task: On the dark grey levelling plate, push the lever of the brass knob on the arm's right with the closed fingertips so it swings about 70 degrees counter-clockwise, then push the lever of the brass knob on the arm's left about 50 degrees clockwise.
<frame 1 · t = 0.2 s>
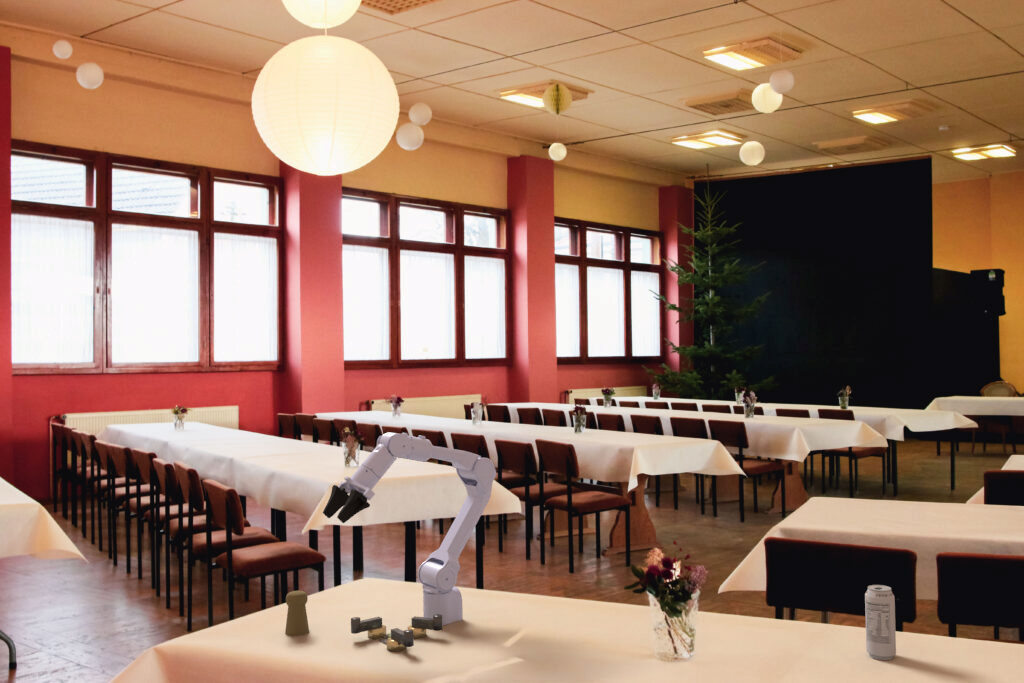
hand: (332, 517, 210), 30 cm above the table, tool tilted 45°, fingers open, 7 cm apart
knob B: (401, 639, 204), point 4 cm above the table, hinge at 0.0°
knob A: (368, 626, 214), point 4 cm above the table, hinge at 0.0°
cork: (297, 637, 220), on the table
energy drink can: (881, 657, 198), on the table
levelling plate: (394, 644, 212), on the table
knob C: (425, 625, 214), point 4 cm above the table, hinge at 0.0°
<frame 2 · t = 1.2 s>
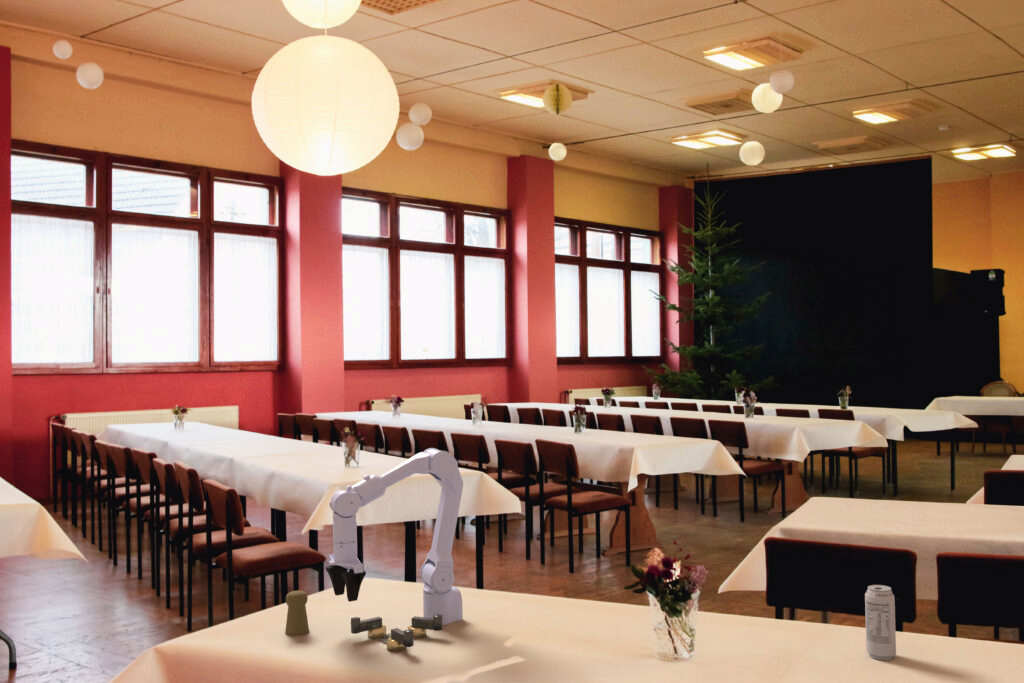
hand: (346, 597, 217), 10 cm above the table, tool pointing down, fingers open, 6 cm apart
nothing on the table moved.
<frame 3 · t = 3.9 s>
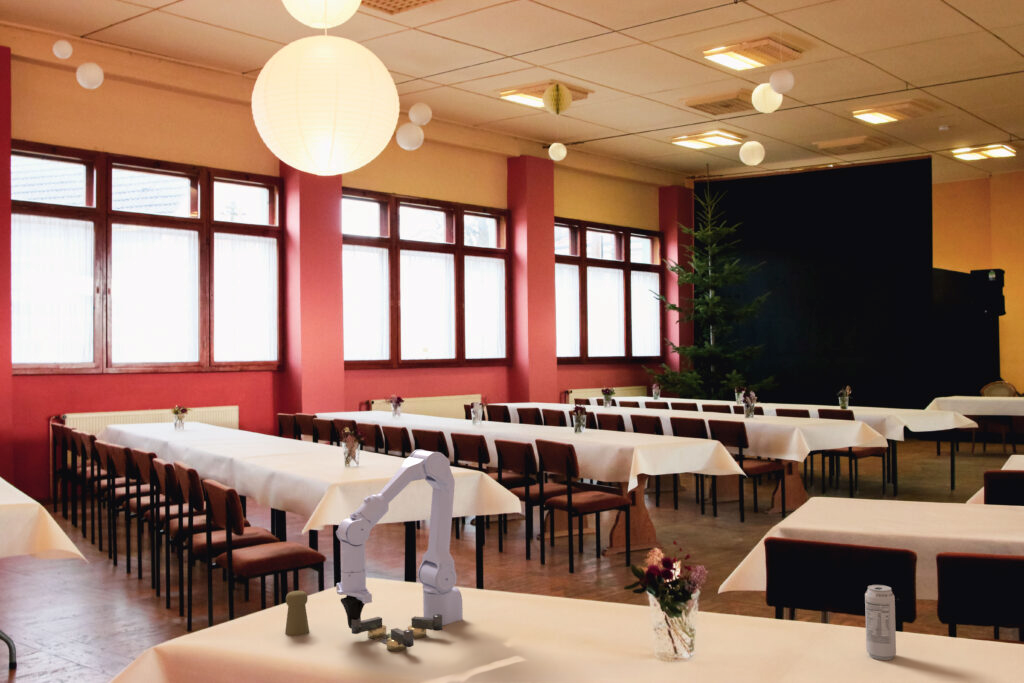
hand: (354, 627, 214), 4 cm above the table, tool pointing down, fingers closed, pressing on knob A
knob A: (368, 626, 214), point 4 cm above the table, hinge at 2.8°, touching gripper
everything else where it was.
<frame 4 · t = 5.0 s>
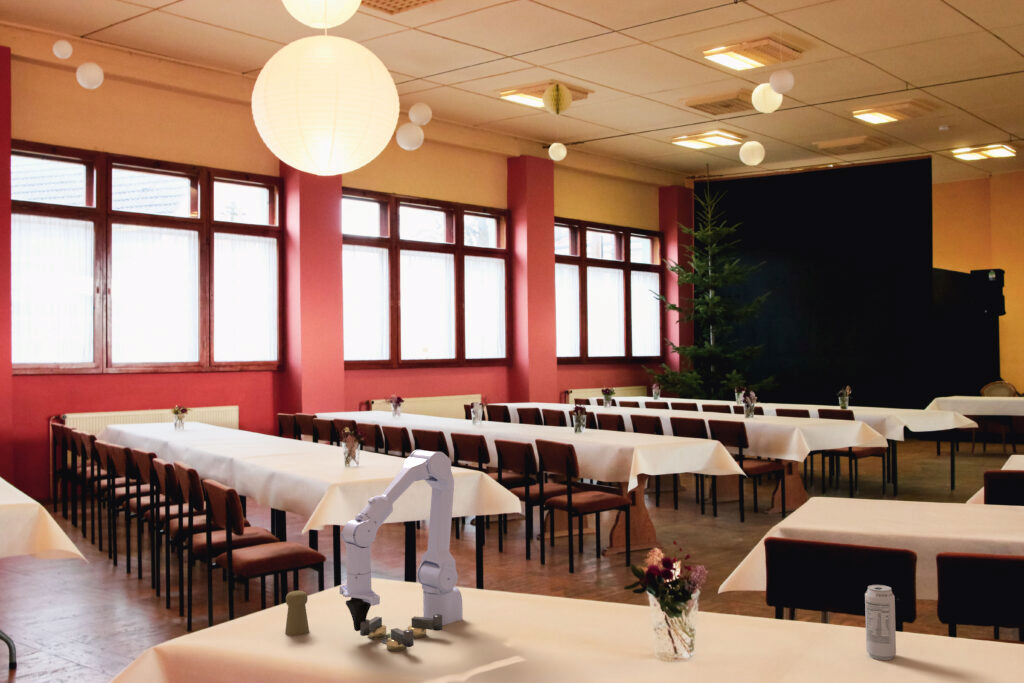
hand: (359, 630, 212), 4 cm above the table, tool pointing down, fingers closed, pressing on knob A
knob A: (372, 627, 214), point 4 cm above the table, hinge at 32.1°, touching gripper
everything else where it was.
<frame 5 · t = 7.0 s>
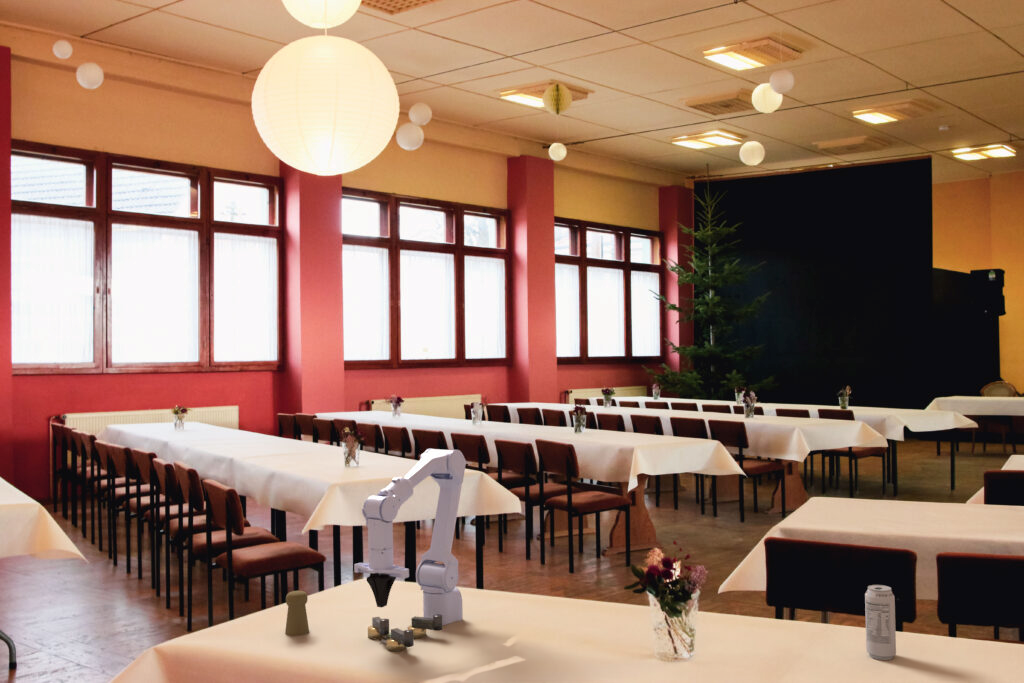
hand: (381, 606, 210), 10 cm above the table, tool pointing down, fingers closed
knob A: (379, 627, 214), point 4 cm above the table, hinge at 79.8°
everything else where it was.
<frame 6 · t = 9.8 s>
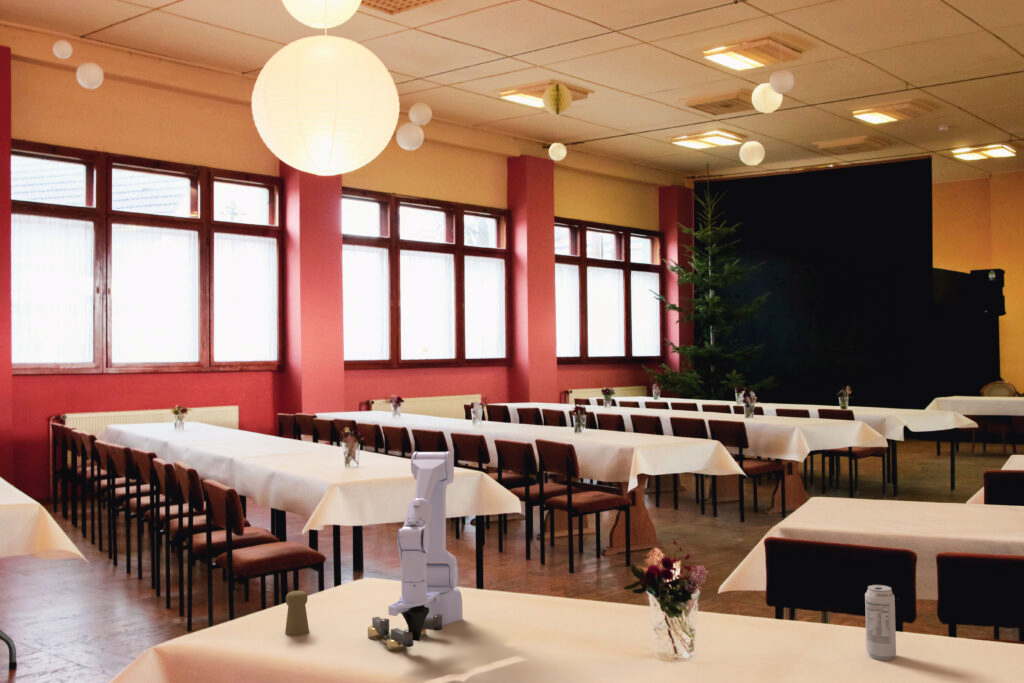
hand: (415, 640, 203), 4 cm above the table, tool pointing down, fingers closed, pressing on knob B
knob B: (401, 639, 204), point 4 cm above the table, hinge at -0.5°, touching gripper
everything else where it was.
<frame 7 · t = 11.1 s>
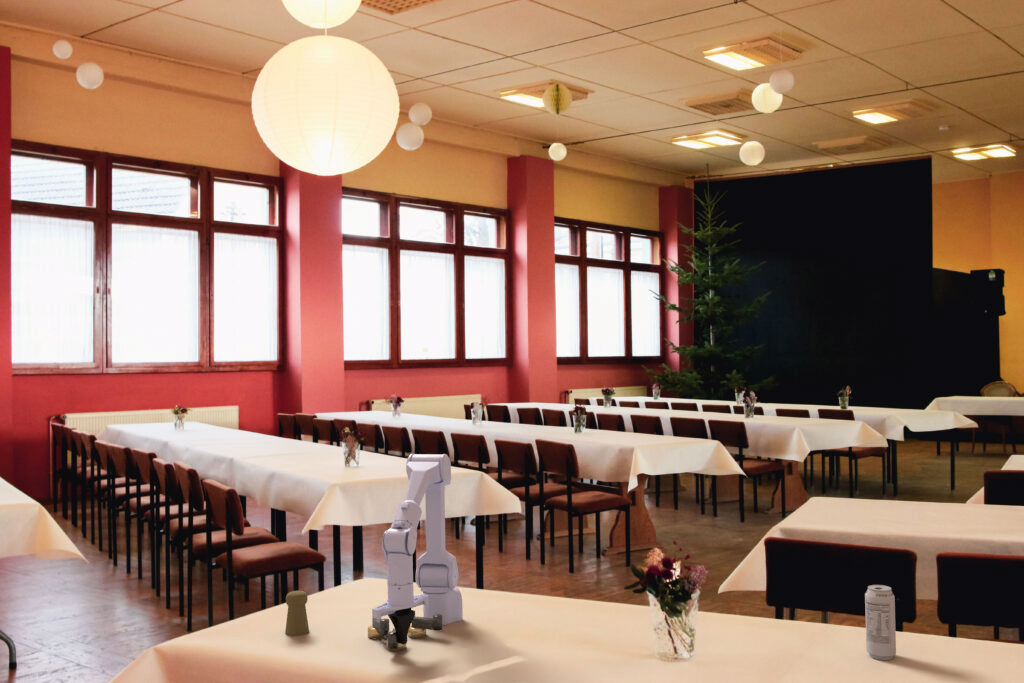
hand: (401, 643, 201), 4 cm above the table, tool pointing down, fingers closed, pressing on knob B
knob B: (394, 639, 204), point 4 cm above the table, hinge at -37.6°, touching gripper
everything else where it was.
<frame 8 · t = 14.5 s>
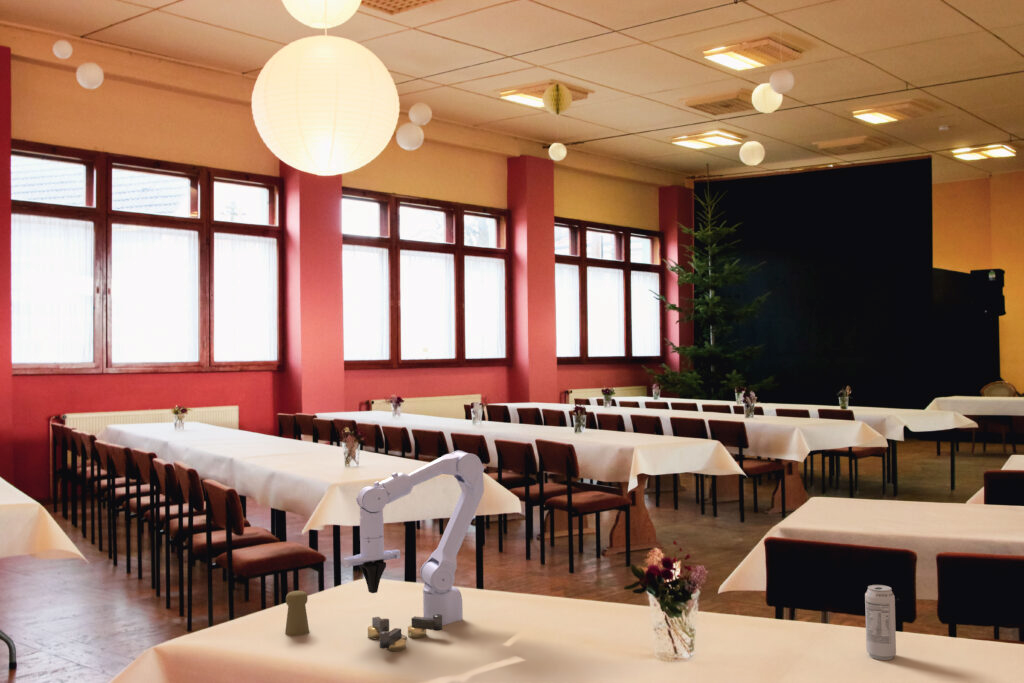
hand: (372, 592, 220), 10 cm above the table, tool pointing down, fingers closed
knob B: (391, 639, 204), point 4 cm above the table, hinge at -56.8°
everything else where it was.
at the end: knob A at +80° (first picture: +0°); knob B at -57° (first picture: +0°); the gripper is holding nothing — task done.
